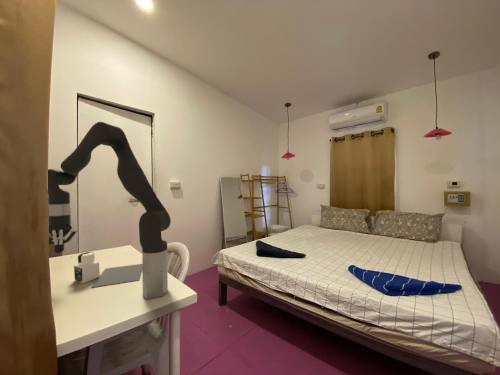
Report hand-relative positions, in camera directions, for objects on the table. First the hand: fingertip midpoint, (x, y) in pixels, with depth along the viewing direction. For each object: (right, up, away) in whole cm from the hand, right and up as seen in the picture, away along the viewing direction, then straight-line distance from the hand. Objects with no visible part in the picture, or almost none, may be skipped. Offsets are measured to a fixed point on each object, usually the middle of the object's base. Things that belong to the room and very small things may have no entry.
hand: (59, 252), depth 93 cm
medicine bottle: (+9, -14, +4) cm, 17 cm away
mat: (+22, -14, +9) cm, 27 cm away
